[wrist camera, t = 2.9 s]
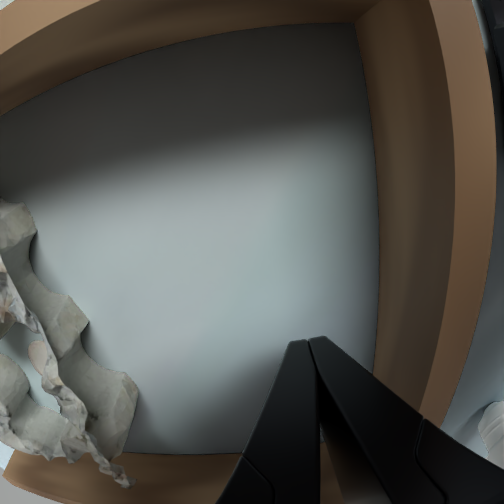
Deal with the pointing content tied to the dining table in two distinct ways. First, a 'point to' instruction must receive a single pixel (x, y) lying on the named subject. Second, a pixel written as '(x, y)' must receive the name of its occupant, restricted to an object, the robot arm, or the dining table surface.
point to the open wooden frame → (388, 183)
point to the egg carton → (56, 366)
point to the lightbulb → (493, 432)
